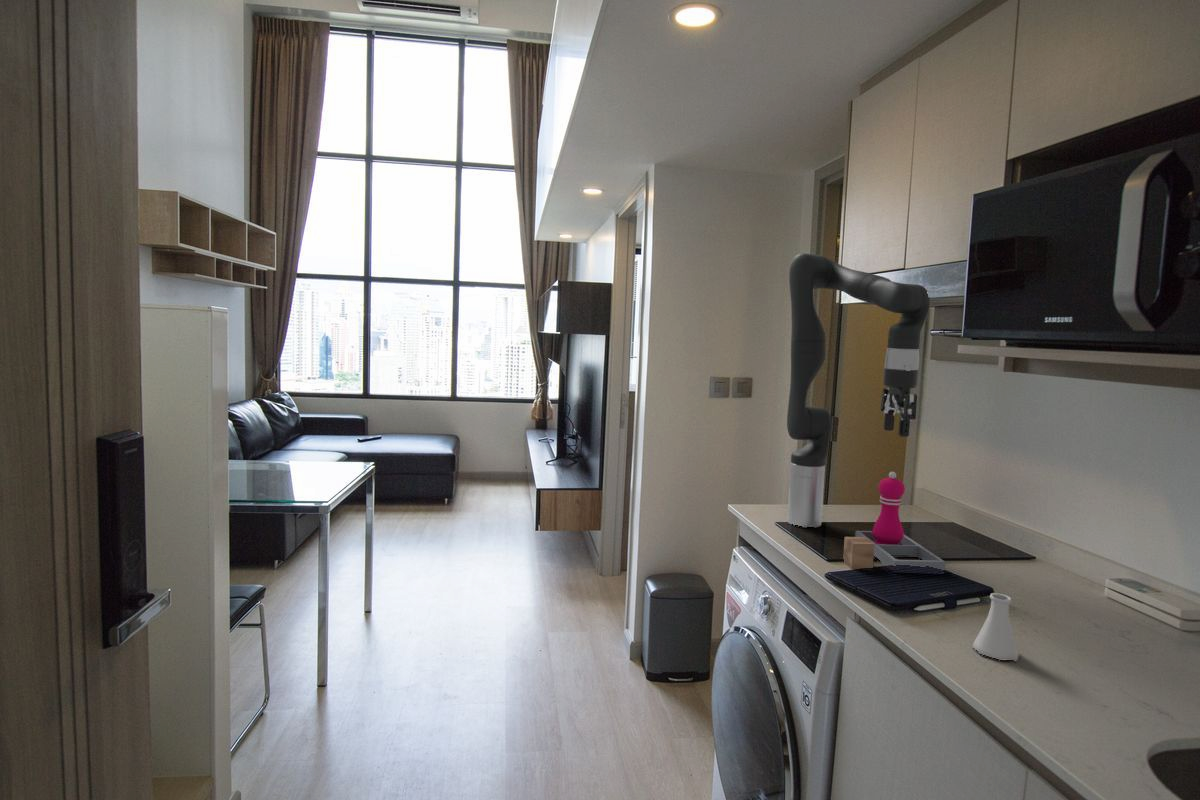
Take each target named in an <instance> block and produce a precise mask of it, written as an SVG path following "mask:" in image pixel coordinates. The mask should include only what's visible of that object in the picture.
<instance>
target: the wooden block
mask: <svg viewBox="0 0 1200 800" xmlns="http://www.w3.org/2000/svg"><path fill="white" fill-rule="evenodd" d="M843 559H844V562H845V563H844V562H843V563H844V564H845V565H846V566H848V568H850V569H851V570H853V569H855V570H860V569H859V568H873V569H874V559H875V558H874V543H872V542H871V541H870V540H869V539H867V538H866V537H855V536H844V542H843V555H842V560H843Z"/></svg>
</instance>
